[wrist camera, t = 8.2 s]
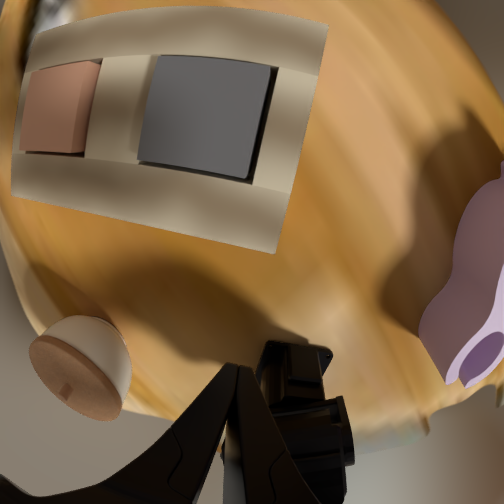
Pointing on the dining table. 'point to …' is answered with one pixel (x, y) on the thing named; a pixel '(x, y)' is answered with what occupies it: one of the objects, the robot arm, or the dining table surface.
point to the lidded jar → (84, 365)
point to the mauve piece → (471, 294)
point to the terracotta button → (59, 108)
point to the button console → (132, 113)
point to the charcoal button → (204, 114)
